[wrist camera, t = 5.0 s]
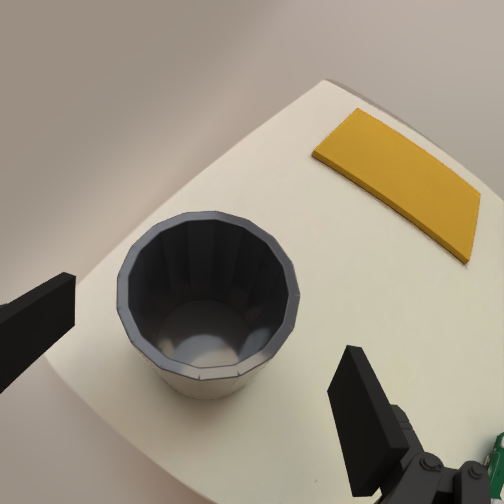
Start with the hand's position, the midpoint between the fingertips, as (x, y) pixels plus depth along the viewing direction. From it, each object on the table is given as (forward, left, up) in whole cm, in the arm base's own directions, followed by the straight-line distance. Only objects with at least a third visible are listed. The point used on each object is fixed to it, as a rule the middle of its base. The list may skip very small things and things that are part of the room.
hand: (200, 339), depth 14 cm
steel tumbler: (-1, +1, -8) cm, 8 cm away
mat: (+5, +29, -8) cm, 31 cm away
